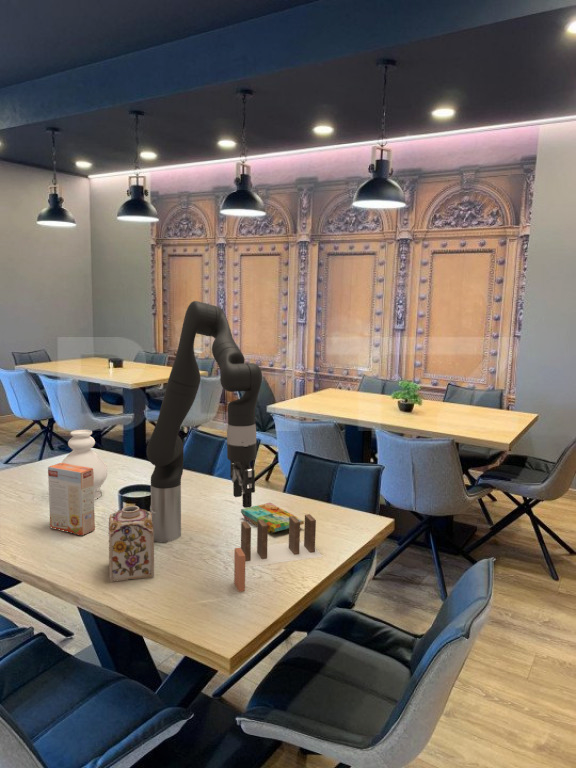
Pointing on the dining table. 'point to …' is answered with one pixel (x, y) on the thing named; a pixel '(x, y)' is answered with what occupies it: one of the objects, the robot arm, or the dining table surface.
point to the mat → (278, 554)
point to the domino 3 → (262, 539)
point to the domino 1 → (239, 569)
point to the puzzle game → (269, 516)
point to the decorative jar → (131, 544)
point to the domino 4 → (294, 534)
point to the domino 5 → (309, 533)
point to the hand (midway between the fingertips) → (242, 501)
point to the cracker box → (71, 498)
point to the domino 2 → (246, 540)
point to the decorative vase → (86, 457)
